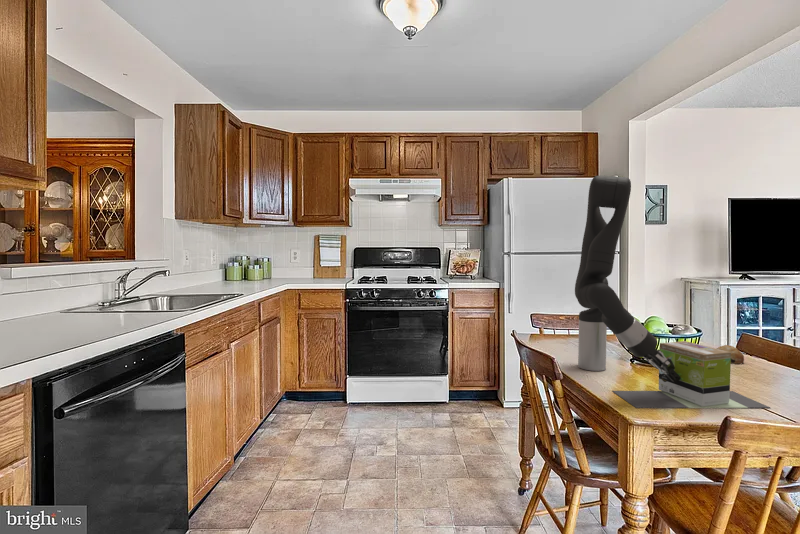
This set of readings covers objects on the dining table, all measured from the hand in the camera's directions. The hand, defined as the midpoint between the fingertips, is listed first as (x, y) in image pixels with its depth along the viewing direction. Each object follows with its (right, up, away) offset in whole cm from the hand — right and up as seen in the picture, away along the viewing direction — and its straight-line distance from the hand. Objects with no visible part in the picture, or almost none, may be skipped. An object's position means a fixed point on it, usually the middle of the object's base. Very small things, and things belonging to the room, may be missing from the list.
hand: (676, 379), depth 129 cm
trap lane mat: (+3, -6, 0) cm, 7 cm away
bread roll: (+47, -4, +45) cm, 65 cm away
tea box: (+5, -6, +2) cm, 8 cm away
